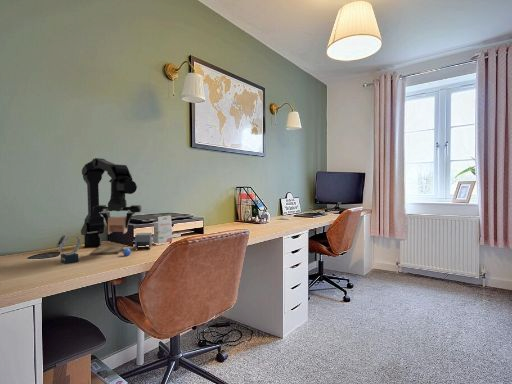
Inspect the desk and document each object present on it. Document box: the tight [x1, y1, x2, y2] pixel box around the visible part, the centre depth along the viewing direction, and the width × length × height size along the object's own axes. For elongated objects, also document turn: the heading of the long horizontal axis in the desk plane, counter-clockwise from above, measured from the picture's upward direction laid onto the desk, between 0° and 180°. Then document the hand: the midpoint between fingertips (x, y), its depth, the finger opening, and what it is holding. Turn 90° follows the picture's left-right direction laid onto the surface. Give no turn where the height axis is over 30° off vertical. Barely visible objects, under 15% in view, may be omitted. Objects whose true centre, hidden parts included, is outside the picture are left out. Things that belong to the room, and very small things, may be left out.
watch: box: [56, 233, 82, 265], centre depth 113 cm, size 6×8×11 cm
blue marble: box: [122, 247, 132, 257], centre depth 124 cm, size 3×3×3 cm
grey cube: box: [134, 232, 153, 250], centre depth 139 cm, size 7×7×7 cm
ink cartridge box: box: [152, 215, 173, 244], centre depth 150 cm, size 9×5×15 cm, turn 143°
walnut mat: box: [89, 246, 124, 256], centre depth 131 cm, size 11×11×1 cm
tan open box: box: [107, 215, 128, 235], centre depth 127 cm, size 7×7×7 cm
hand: (117, 228), depth 127 cm, fingers closed on tan open box, 7 cm apart
